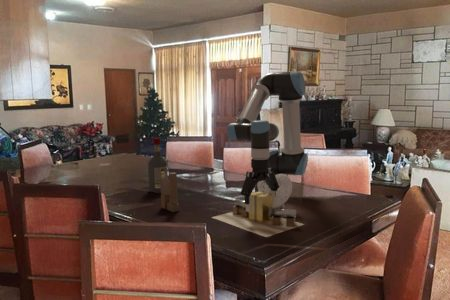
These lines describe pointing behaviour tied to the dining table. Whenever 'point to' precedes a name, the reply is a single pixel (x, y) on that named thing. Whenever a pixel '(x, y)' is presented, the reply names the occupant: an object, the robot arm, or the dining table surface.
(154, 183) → the liquor
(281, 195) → the decorative heart
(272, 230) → the board
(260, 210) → the yellow tall block
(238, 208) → the tan silver-topped block
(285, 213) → the grey brown bridge piece
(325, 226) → the dining table surface
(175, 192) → the wooden block
